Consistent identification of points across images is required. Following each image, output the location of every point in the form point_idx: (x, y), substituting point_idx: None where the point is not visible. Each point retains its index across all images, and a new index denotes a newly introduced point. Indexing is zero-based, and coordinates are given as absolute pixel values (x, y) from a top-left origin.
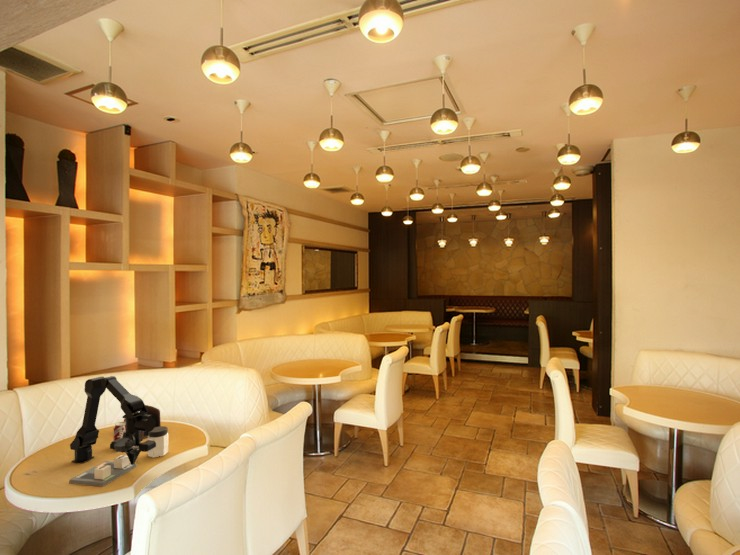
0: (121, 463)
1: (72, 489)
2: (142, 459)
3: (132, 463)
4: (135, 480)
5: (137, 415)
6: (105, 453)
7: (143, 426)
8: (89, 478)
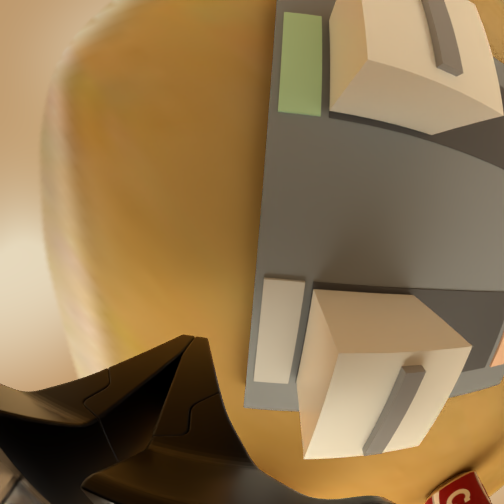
0: (333, 318)
1: None
2: (284, 466)
3: (177, 338)
4: (73, 144)
5: None
6: (495, 438)
7: None
8: None
